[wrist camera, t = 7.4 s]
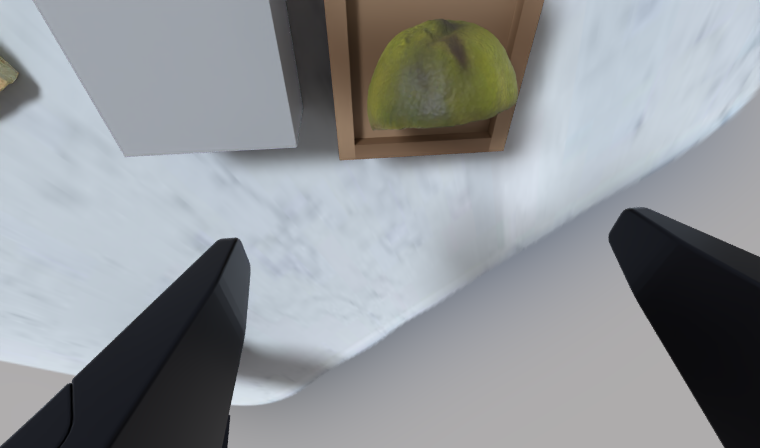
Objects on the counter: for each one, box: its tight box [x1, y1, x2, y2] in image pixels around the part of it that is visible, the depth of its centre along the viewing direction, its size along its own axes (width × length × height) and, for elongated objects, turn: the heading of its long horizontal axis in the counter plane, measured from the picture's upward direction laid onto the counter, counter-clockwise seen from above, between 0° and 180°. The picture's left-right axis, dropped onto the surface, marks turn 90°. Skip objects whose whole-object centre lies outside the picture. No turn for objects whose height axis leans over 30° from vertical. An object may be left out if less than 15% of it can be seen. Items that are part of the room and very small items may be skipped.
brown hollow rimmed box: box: [324, 0, 544, 160], centre depth 14 cm, size 8×8×4 cm
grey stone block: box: [33, 0, 303, 157], centre depth 13 cm, size 7×7×4 cm
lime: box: [367, 19, 518, 131], centre depth 12 cm, size 4×5×5 cm
